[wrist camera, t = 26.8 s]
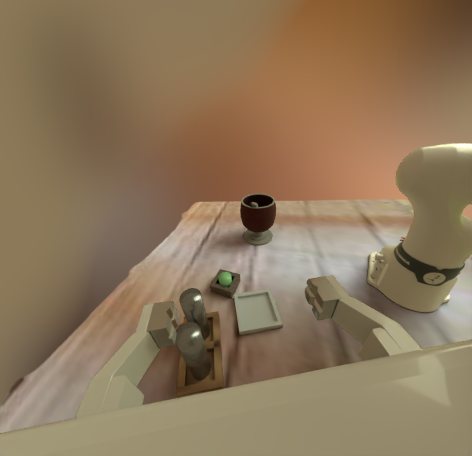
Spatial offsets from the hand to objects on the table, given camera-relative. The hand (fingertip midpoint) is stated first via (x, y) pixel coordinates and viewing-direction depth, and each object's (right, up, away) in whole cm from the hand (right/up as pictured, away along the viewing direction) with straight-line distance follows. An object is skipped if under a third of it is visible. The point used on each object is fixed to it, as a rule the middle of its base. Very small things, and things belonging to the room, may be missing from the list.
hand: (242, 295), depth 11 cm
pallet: (-8, -25, +32) cm, 42 cm away
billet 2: (-8, -26, +28) cm, 39 cm away
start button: (-4, -14, +47) cm, 50 cm away
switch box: (-4, -14, +48) cm, 50 cm away
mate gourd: (+9, 0, +68) cm, 69 cm away
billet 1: (-9, -22, +35) cm, 42 cm away
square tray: (+5, -19, +40) cm, 44 cm away
